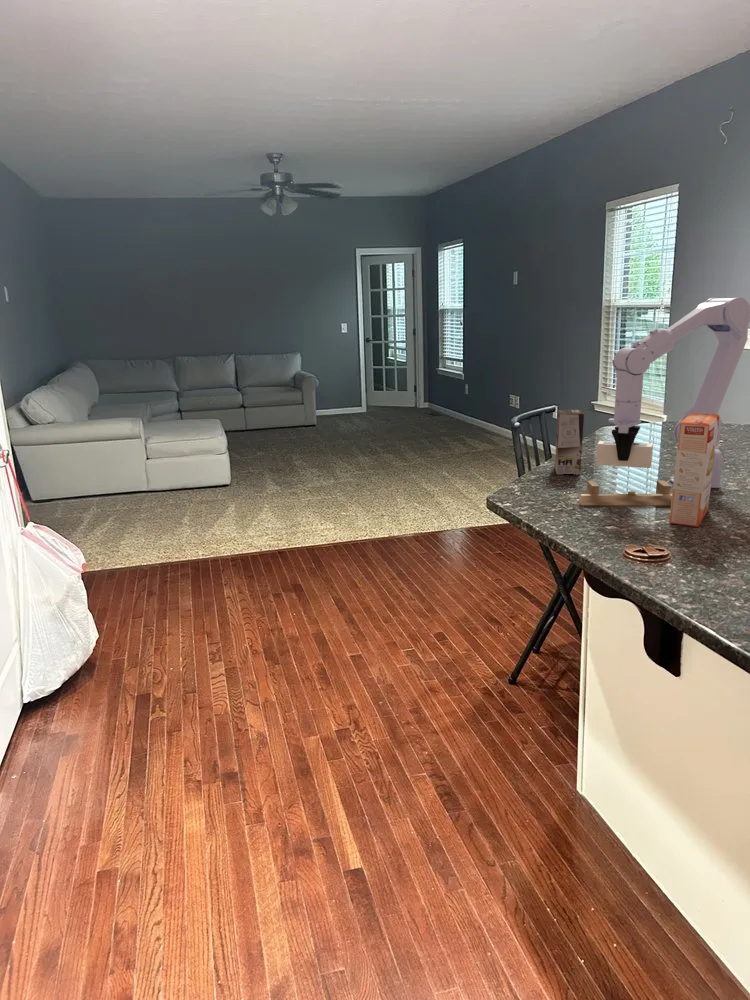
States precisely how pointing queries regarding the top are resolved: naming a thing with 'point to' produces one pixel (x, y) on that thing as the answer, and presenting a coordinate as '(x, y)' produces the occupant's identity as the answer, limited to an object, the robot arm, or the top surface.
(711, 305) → the robot arm
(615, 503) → the ledge
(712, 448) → the cracker box
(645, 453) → the cream block
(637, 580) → the top surface
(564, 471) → the coffee box
